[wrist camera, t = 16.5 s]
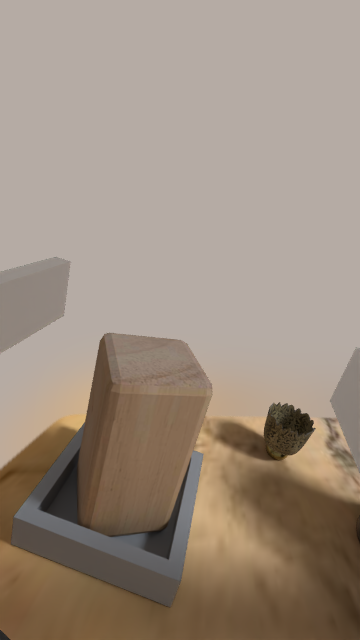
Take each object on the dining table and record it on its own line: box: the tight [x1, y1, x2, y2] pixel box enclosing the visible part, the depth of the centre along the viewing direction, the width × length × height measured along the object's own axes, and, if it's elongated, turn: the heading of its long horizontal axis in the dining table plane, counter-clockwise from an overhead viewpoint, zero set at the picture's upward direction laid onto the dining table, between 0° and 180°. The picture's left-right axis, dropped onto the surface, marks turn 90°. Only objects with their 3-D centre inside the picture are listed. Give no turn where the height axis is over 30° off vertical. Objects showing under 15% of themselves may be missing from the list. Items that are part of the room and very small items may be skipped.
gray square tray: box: [11, 423, 203, 607], centre depth 40 cm, size 17×17×4 cm
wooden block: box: [77, 333, 212, 537], centre depth 37 cm, size 10×10×20 cm
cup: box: [264, 402, 315, 460], centre depth 55 cm, size 8×7×8 cm
